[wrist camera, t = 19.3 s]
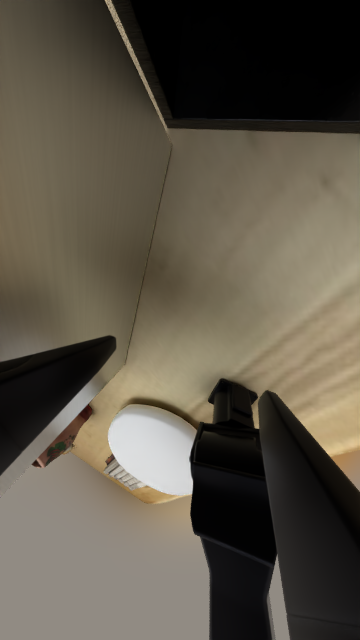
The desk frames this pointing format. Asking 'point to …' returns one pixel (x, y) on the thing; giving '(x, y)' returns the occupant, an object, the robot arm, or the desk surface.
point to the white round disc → (154, 447)
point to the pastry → (68, 449)
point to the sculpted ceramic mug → (63, 439)
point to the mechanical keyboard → (122, 474)
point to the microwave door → (72, 189)
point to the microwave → (249, 62)
